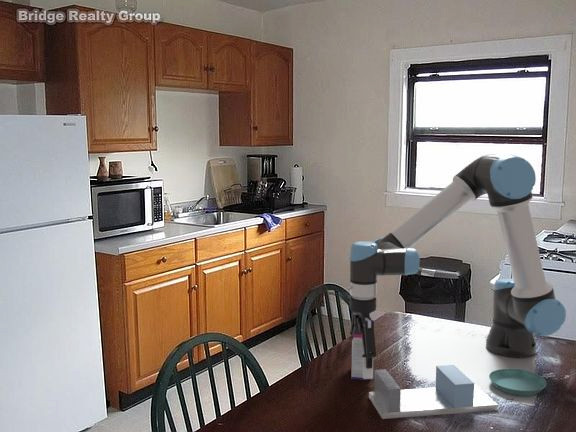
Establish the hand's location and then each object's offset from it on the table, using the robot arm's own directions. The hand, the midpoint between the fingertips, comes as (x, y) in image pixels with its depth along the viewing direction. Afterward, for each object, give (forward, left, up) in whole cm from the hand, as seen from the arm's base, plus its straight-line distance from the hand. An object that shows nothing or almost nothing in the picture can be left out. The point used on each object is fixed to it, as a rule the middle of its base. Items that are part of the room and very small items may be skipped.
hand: (362, 369), depth 168 cm
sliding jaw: (-19, +20, 0) cm, 28 cm away
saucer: (-40, +14, -2) cm, 42 cm away
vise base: (-13, +20, -2) cm, 24 cm away
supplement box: (0, 0, -2) cm, 2 cm away
